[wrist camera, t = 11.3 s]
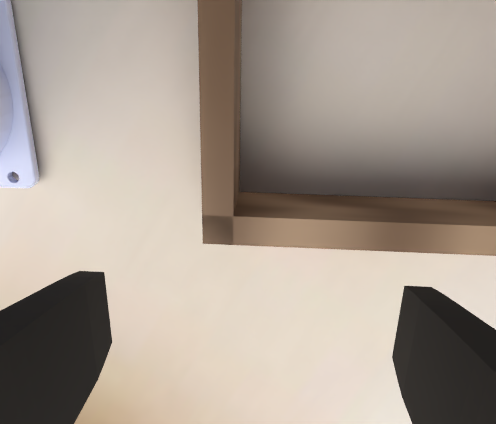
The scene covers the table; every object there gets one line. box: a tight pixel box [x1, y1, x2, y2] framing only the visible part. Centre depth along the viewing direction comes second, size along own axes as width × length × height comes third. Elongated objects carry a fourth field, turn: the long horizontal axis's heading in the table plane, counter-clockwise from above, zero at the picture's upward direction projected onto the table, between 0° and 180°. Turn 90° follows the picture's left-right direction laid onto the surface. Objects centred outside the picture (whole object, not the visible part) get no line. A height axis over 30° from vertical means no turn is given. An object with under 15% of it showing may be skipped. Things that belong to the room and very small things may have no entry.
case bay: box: [198, 0, 496, 256], centre depth 16 cm, size 14×12×3 cm
